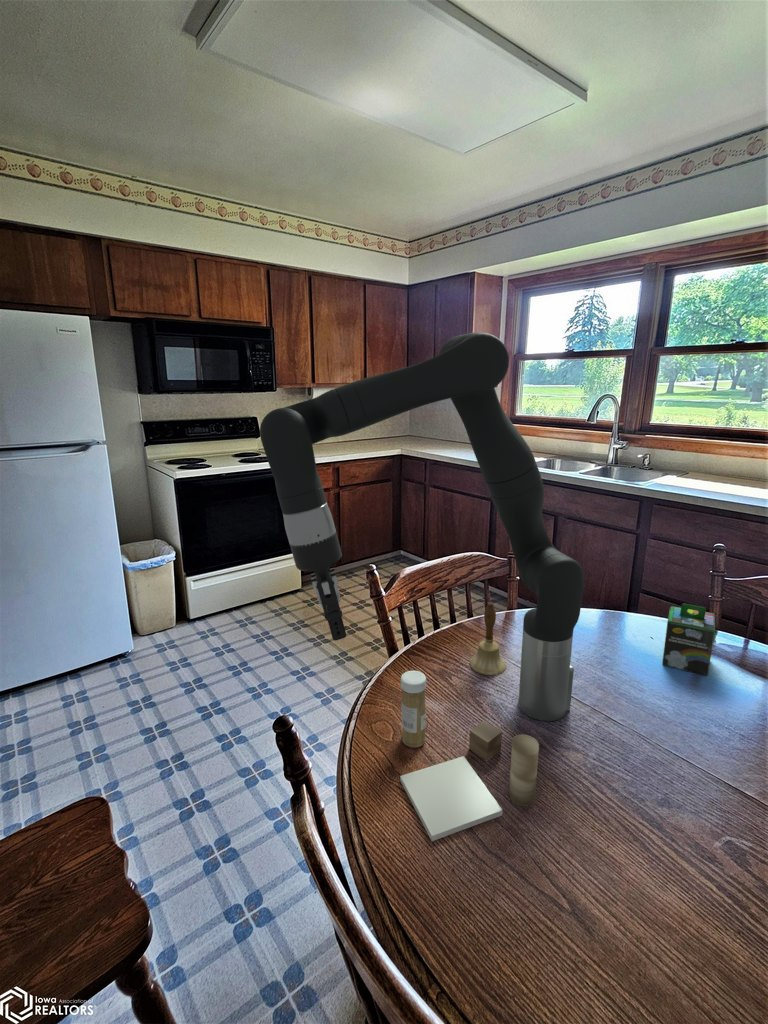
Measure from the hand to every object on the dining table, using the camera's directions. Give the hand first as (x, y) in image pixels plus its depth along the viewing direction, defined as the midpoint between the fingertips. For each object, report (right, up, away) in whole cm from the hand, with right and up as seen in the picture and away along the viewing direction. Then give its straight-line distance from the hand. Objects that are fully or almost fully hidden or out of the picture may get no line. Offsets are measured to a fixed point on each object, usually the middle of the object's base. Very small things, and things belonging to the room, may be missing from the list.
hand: (337, 627), depth 82 cm
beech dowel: (+30, -27, -2) cm, 40 cm away
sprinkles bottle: (+13, -24, +11) cm, 29 cm away
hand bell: (+32, -17, +34) cm, 49 cm away
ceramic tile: (+18, -27, -2) cm, 32 cm away
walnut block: (+26, -24, +8) cm, 36 cm away
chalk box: (+78, -16, +34) cm, 86 cm away
